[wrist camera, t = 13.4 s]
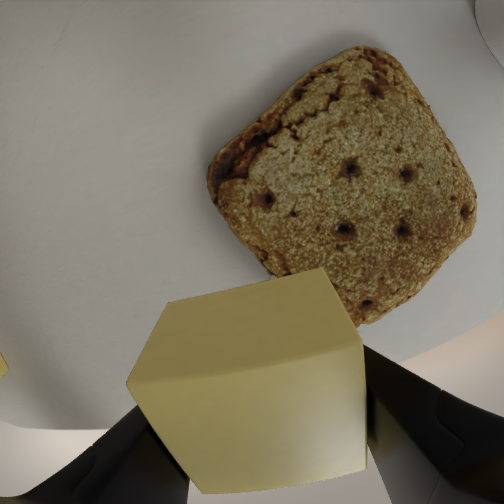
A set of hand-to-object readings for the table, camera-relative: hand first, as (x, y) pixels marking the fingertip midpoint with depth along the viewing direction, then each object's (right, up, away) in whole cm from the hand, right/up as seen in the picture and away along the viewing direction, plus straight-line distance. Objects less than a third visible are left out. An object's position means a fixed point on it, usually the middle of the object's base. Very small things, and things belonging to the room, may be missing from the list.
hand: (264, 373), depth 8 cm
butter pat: (0, 0, +1) cm, 1 cm away
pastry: (+6, +7, +10) cm, 13 cm away
